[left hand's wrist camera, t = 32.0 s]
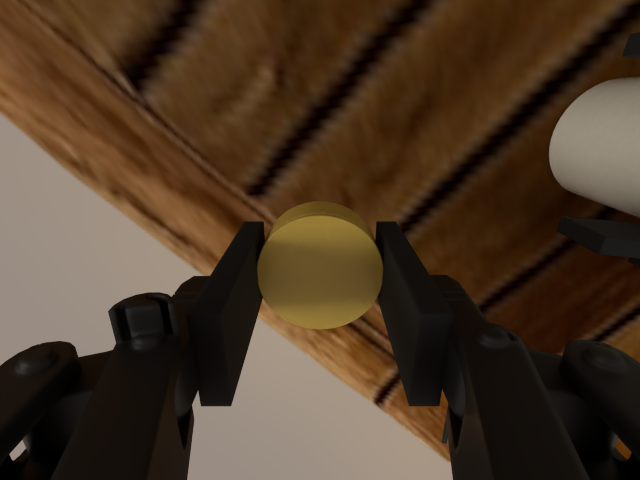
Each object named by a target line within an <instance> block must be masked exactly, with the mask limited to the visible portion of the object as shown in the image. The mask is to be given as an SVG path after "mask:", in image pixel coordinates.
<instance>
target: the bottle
mask: <svg viewBox="0 0 640 480" xmlns="http://www.w3.org/2000/svg"><path fill="white" fill-rule="evenodd" d="M549 162H550V166H551V170H552V172H553V175H554V177H555V178H556V180H557V181H558V182H559V184H560V185H561V186H562V187H564V188H565V189H566V190H568V191H570V192H571V193H574V194H576V195H579V196H582V197H584V198H587V199H590V200H592V201H595V202H598V203H600V204H603V205H606V206H609V207H611V208H614V209H617V210H619V211H622V212H625V213H627V214H630V215H633V216H635V217H638V218H640V76H639V77H625V78H617V79H612V80H608V81H605V82H603V83H600V84H598V85H596V86H594V87H592V88H591V89H589V90H587V91H586V92H585V93H583V94H582V95H581V96H579V97H578V98H577V99H576V100H575V101H574V102H573V103H572V104H571V105H570V106H569V107H568V108H567V109H566V111H565V112H564V113H563V115H562V116H561V118H560V120H559V121H558V123H557V125H556V127H555V129H554V132H553V134H552V138H551V141H550V147H549Z"/></svg>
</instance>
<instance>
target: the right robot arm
mask: <svg viewBox="0 0 640 480" xmlns="http://www.w3.org/2000/svg"><path fill="white" fill-rule="evenodd" d="M622 56H623V57H632V58H640V33H636V34H631V35H630V36H629V39H628V42H627V44H626V47H625V50H624V52H623V55H622ZM557 231H558V232H559V233H561V234H563V235H565V236H567V237H568V238H570V239H572V240H574V241H576V242H577V243H579V244H581V245H583V246H584V247H586V248H588V249H590V250H592V251H593V252H595V253H597V254H600V255H610V256H621V257H630V258H629V260H628V262H630V263H632V264H634V265H635V266H637V267H639V268H640V223H630V222H620V221H609V220H599V219H589V218H578V217H568V216H562V218H561V221H560V224H559V226H558V229H557Z"/></svg>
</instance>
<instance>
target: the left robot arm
mask: <svg viewBox="0 0 640 480" xmlns="http://www.w3.org/2000/svg"><path fill="white" fill-rule="evenodd" d="M264 242H265V237H264V222H244V223H243V225H242V226H241V228H240V230H239V231H238V233H237V234H236V236H235V238H234V239H233V241H232V242H231V244H230V245H229V247H228V249H227V250H226V252H225V253H224V255H223V256H222V258H221V260H220V261H219V263H218V264H217V266H216V267H215V269H214V271H213V272H212V274H211V275H210V276H193V277H192V278H190V279H189V280H187V281H185V282H184V283H182V284H181V285H180V287H179V288H178V289H177V291H176V292H175V295H173V296H172V297H171V296H169V295H168V294H163V293H144V294H139V295H135V296H132V297H129V298H126V299H124V300H122V301H120V302H118V303H117V304H115V305H114V306H113V307H112V308H111V309H110V310H109V311H108V313H109V316H110V321H111V324H112V328H113V332H114V336H115V340H116V345H115V347H114V349H113V350H111V351H108V352H103V353H98V354H93V355H88V356H83V357H78V355H77V352H76V348H75V346H73V345H72V344H71V343H69V342H62V341H57V342H47V343H42V344H40V345H39V344H38V345H35V346H32V347H30V348H29V349H26V350H24V351H22V352H20V353H18V354H16V355H15V356H13V357H12V358H10V359H9V360H7V361H6V362H4V363H3V364H2V365H1V366H0V480H187V475H188V467H189V459H190V450H191V442H192V434H193V426H194V415H193V409H192V403H193V401H194V398H195V396H196V394H197V392H198V391H199V397H200V403H201V406H231V404H232V401H233V398H234V394H235V391H236V387H237V384H238V380H239V377H240V374H241V370H242V367H243V363H244V360H245V356H246V353H247V350H248V346H249V343H250V339H251V336H252V333H253V329H254V326H255V323H256V319H257V316H258V312H259V309H260V305H261V302H262V299H263V296H262V294H261V292H260V289H259V286H258V274H257V263H258V259H259V255H260V252H261V250H262V247H263V245H264ZM375 242H376V244H377V247H378V249H379V252H380V254H381V258H382V261H383V277H382V287H381V290H380V292H379V294H378V297H377V298H378V301H379V305H380V308H381V312H382V315H383V318H384V322H385V325H386V329H387V332H388V335H389V339H390V342H391V346H392V349H393V352H394V356H395V359H396V363H397V366H398V370H399V373H400V376H401V380H402V383H403V387H404V390H405V393H406V397H407V400H408V404H409V406H439V404H440V398H441V392H442V389H443V392H444V394H445V396H446V399H447V401H448V409H447V414H446V420H445V426H444V432H443V438H442V443H446V444H447V439H448V441H449V450H450V458H451V466H452V474H453V480H640V363H639V362H637V361H636V360H635V359H633V358H632V357H630V356H629V355H627V354H626V353H624V352H623V351H621V350H618V349H616V348H614V347H612V346H610V345H608V344H605V343H600V342H597V341H590V340H575V341H570V342H569V343H568V344H567V345H566V346H565V349H564V353H563V356H561V355H555V354H550V353H545V352H540V351H535V350H531V349H528V348H526V346H525V344H524V342H523V341H522V340H521V339H520V337H519V336H518V335H516V334H515V333H514V332H512V331H511V330H509V329H507V328H505V327H502V326H500V325H497V324H493V323H489V321H488V320H487V319H486V317H485V316H484V315H483V314H482V312H481V311H480V310H479V308H478V307H477V306H476V304H475V303H474V302H473V301H471V298H470V297H469V295H468V294H467V293H466V291H465V290H464V289H463V288H462V286H461V285H460V284H459V283H458V282H457V281H455V280H454V279H452V278H450V277H449V276H447V275H429V273H428V272H427V270H426V269H425V267H424V266H423V264H422V262H421V261H420V259H419V258H418V256H417V254H416V253H415V251H414V250H413V248H412V247H411V245H410V243H409V242H408V240H407V239H406V237H405V236H404V234H403V232H402V231H401V229H400V228H399V226H398V225H397V223H396V222H377V224H376V240H375ZM618 438H620V440H621V441H622V442H623V443H624V444H625V445H626V446H627V447H628V448H629V450H630V451H631V452H632V454H631V456H630V458H629V459H628V460H627V459H626V458H625V457H624V456H622V455H621V454H620V452H619V451H618V450H617V449H616V448H615V445H616V443H617V440H618ZM21 440H23V442H24V444H25V447H26V449H25V450H24V451H23V453H22V454H21V455H20V456H19V457H18V458H16V459H15V460H14V461H13V460H12V459H11V457H10V455H9V454H10V453H11V451H12V450H13V449H14V448H15V447H16V446H17V445H18V444H19V443H20V441H21Z"/></svg>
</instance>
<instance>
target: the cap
mask: <svg viewBox="0 0 640 480" xmlns="http://www.w3.org/2000/svg"><path fill="white" fill-rule="evenodd" d="M257 274H258V286H259V289H260V292H261V294H262V296H263V298H264V300H265V301H266V303H267V304H268V305H269V307H270V308H271V309H272V310H273V311H274V312H275V313H276V314H277V315H279V316H280V317H281V318H283V319H285V320H286V321H288V322H290V323H292V324H295V325H297V326H301V327H304V328H310V329H330V328H336V327H340V326H343V325H345V324H348V323H350V322H352V321H354V320H356V319H357V318H359V317H360V316H362V315H363V314H364V313H365V312H366V311H367V310H368V309H369V308H370V307H371V306H372V305H373V303H374V302H375V300H376V298H377V297H378V294H379V292H380V290H381V287H382V277H383V261H382V258H381V254H380V252H379V249H378V247H377V244H376V242H375V239H374V237H373V235H372V232H371V230H370V228H369V227H368V225H367V224H366V223H365V221H364V220H363V219H362V218H361V217H360V216H359V215H358V214H356V213H355V212H354V211H352V210H351V209H349V208H347V207H345V206H342V205H339V204H336V203H332V202H324V201H316V202H308V203H304V204H301V205H298V206H296V207H294V208H291V209H290V210H288V211H287V212H285V213H284V214H283V215H282V216H280V217H279V218H278V219H277V220H276V222H275V223H274V224H273V226H272V227H271V229H270V231H269V233H268V235H267V237H266V240H265V242H264V245H263V247H262V250H261V252H260V255H259V259H258V263H257Z"/></svg>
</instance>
